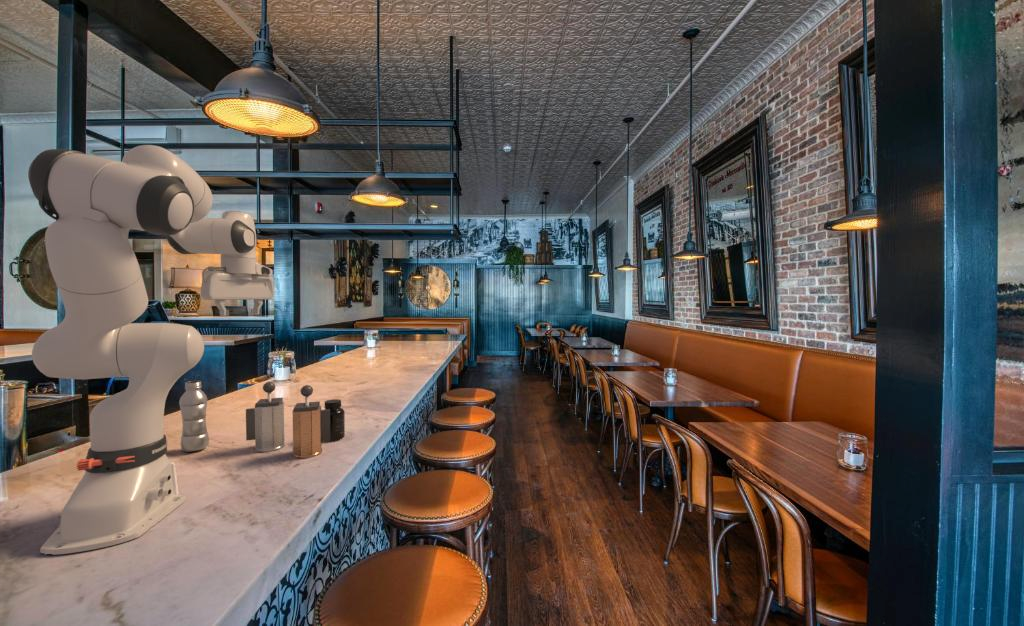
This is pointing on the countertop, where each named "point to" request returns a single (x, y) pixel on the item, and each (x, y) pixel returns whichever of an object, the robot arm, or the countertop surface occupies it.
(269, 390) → the steel plunger
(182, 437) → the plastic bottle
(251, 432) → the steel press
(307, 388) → the ball knob lever
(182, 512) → the countertop surface
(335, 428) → the supplement bottle
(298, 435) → the copper press
